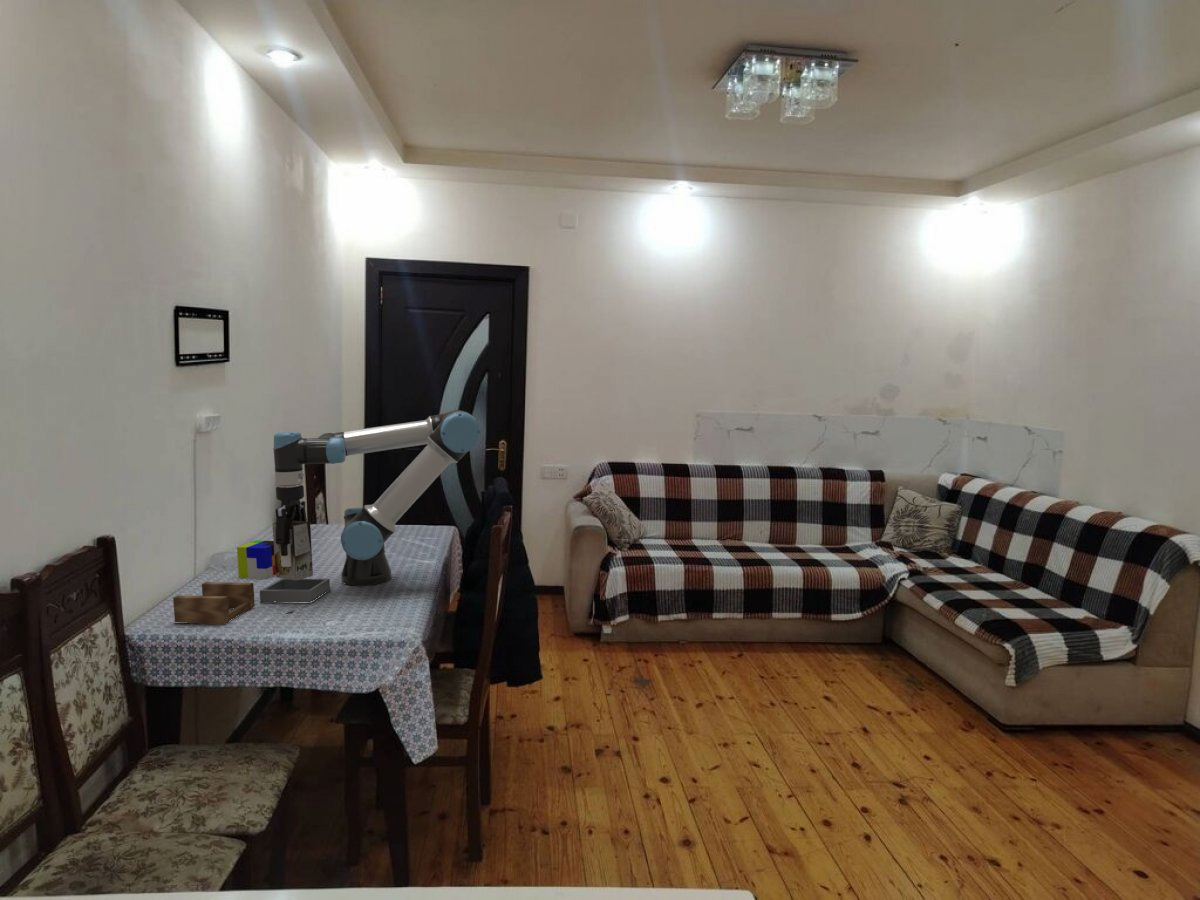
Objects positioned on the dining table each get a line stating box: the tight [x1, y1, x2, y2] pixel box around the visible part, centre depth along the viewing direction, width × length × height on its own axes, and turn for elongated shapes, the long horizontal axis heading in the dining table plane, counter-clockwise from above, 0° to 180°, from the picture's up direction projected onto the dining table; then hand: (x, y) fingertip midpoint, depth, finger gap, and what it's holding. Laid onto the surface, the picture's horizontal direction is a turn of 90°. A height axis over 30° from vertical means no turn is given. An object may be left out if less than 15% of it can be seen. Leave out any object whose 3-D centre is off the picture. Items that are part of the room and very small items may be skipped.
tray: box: [259, 578, 331, 603], centre depth 237 cm, size 15×13×4 cm
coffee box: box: [272, 521, 314, 580], centre depth 236 cm, size 9×6×16 cm
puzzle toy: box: [236, 539, 276, 580], centre depth 263 cm, size 10×10×10 cm
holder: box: [172, 581, 256, 625], centre depth 220 cm, size 14×15×7 cm
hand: (293, 562), depth 236 cm, fingers closed on coffee box, 8 cm apart
